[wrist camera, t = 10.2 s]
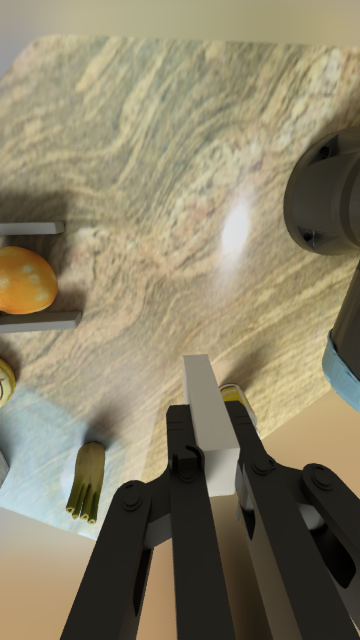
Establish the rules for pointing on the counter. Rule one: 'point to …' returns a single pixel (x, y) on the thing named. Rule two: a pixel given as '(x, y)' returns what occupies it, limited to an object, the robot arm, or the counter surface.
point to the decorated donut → (6, 382)
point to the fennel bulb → (87, 482)
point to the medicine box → (3, 469)
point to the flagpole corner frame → (36, 319)
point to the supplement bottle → (236, 393)
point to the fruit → (25, 281)
